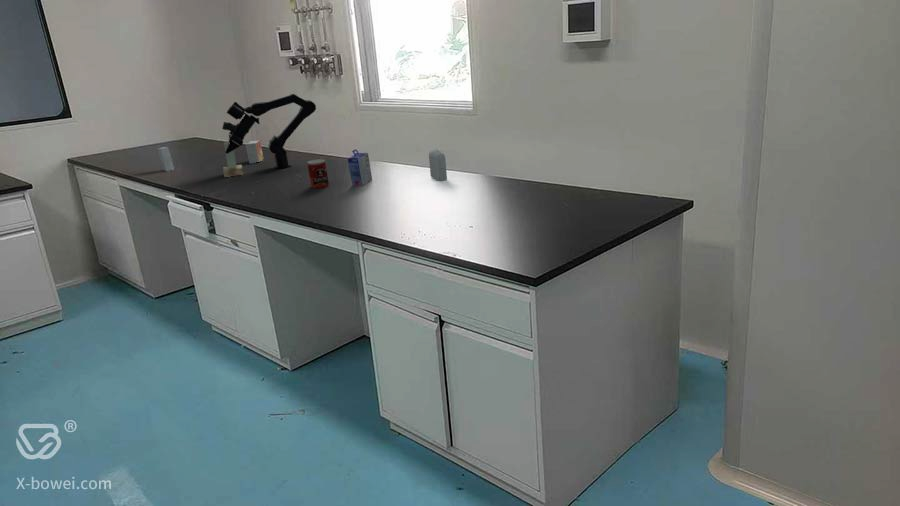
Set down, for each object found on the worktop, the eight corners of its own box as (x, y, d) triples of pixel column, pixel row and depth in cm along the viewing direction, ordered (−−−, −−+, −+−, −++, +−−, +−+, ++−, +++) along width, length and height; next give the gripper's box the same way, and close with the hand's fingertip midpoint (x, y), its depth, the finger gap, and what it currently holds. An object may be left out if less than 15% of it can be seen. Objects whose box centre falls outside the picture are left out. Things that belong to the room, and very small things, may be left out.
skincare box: (174, 170, 335) (169, 147, 330) (166, 171, 332) (160, 149, 328) (171, 168, 339) (165, 146, 335) (162, 170, 337) (157, 148, 332)
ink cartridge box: (361, 180, 278) (356, 147, 273) (372, 180, 276) (368, 147, 271) (351, 186, 269) (346, 152, 264) (362, 186, 267) (358, 152, 262)
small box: (259, 162, 334) (255, 143, 330) (249, 163, 334) (245, 144, 330) (264, 159, 341) (260, 140, 337) (253, 160, 341) (250, 141, 338)
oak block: (243, 172, 316) (241, 164, 315) (244, 175, 308) (242, 167, 307) (224, 175, 314) (222, 167, 312) (224, 178, 306) (223, 170, 304)
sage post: (236, 165, 312) (232, 141, 308) (236, 167, 308) (232, 143, 304) (228, 166, 311) (223, 142, 307) (228, 168, 307) (224, 144, 302)
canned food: (314, 189, 269) (310, 164, 265) (309, 186, 275) (304, 161, 271) (331, 186, 272) (327, 161, 268) (325, 182, 278) (322, 158, 275)
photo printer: (448, 180, 264) (446, 150, 260) (439, 181, 263) (436, 152, 258) (438, 175, 273) (435, 147, 269) (429, 177, 272) (426, 148, 267)
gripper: (229, 113, 310) (211, 138, 311) (230, 117, 294) (211, 144, 294) (249, 127, 315) (231, 152, 316) (251, 132, 299) (232, 158, 299)
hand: (226, 151), depth 306 cm, fingers open, 9 cm apart
